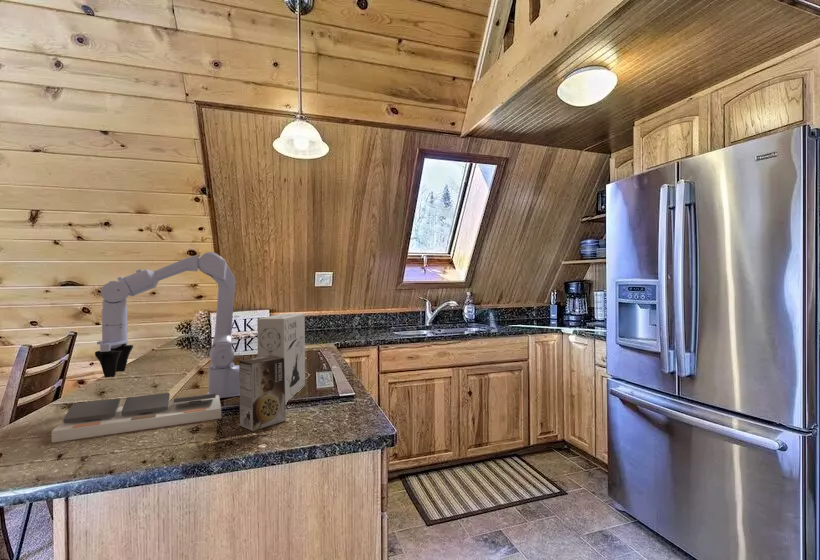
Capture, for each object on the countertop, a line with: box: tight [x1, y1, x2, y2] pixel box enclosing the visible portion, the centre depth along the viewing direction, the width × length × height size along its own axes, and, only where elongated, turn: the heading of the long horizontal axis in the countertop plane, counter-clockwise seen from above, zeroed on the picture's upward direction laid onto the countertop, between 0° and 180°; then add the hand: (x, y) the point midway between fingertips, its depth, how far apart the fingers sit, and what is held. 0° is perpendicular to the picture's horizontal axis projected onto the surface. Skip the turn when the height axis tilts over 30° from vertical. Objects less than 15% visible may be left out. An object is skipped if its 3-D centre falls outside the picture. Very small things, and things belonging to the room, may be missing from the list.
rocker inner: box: [173, 393, 216, 403], centre depth 109 cm, size 10×8×1 cm
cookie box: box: [238, 355, 287, 432], centre depth 101 cm, size 9×6×16 cm
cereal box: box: [257, 312, 306, 406], centre depth 126 cm, size 22×8×25 cm, turn 179°
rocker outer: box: [62, 398, 121, 423], centre depth 99 cm, size 10×8×1 cm
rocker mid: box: [121, 392, 171, 416], centre depth 104 cm, size 10×8×1 cm
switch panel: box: [51, 395, 222, 443], centre depth 104 cm, size 34×15×3 cm, turn 117°
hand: (115, 374), depth 112 cm, fingers open, 7 cm apart
